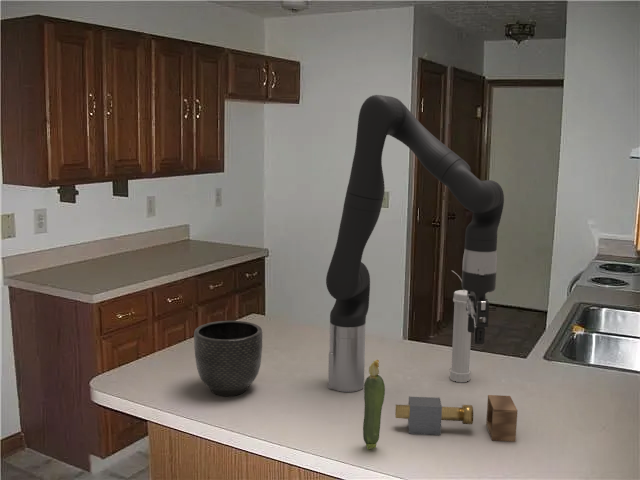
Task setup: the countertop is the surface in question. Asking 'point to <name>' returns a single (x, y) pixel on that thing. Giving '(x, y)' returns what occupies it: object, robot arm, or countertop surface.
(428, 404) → the sleeve
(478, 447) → the countertop surface
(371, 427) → the vegetable
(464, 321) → the pipe
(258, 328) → the planter
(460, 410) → the tube
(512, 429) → the socket
